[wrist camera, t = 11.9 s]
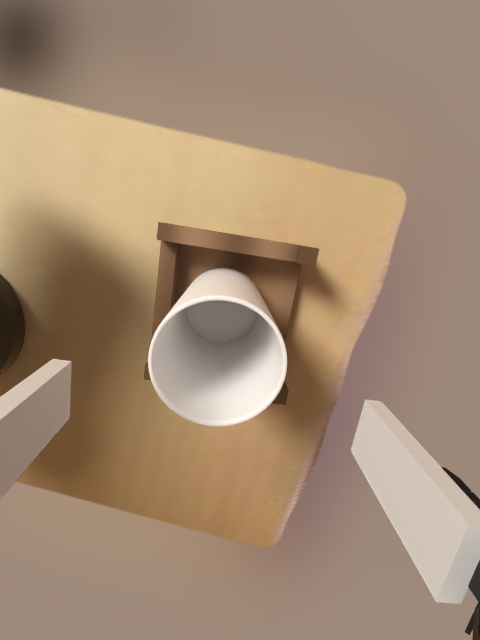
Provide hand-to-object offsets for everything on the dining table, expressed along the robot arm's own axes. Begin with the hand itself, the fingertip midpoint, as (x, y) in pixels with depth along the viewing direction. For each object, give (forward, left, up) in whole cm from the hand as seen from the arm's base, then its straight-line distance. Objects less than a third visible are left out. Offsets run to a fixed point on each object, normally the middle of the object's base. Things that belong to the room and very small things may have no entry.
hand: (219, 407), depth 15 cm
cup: (0, 0, -21) cm, 21 cm away
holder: (0, 0, -22) cm, 22 cm away
